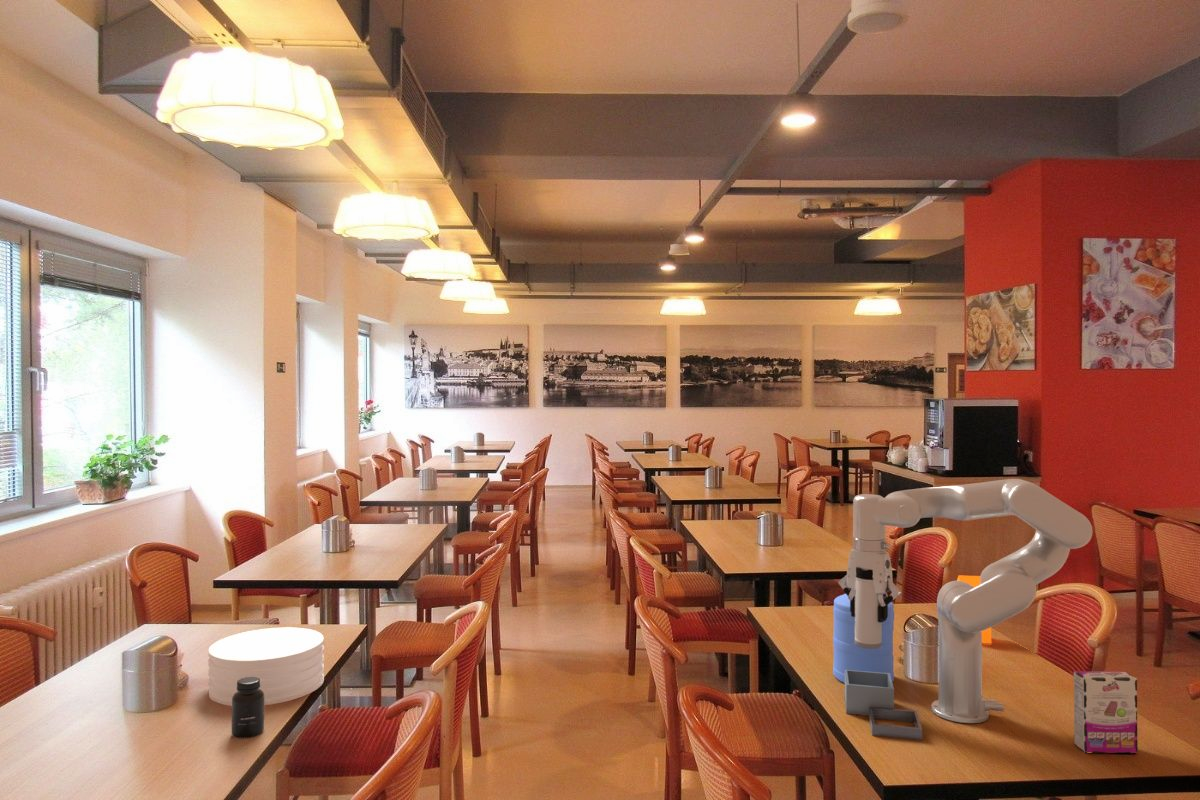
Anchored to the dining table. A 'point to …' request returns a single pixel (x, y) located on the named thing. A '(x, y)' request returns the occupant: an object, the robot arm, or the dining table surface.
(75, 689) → the dining table surface
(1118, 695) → the candy bar box
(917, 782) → the dining table surface
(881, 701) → the grey bin
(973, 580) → the orange juice
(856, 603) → the travel mug
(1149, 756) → the dining table surface
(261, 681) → the plate stack
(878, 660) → the water jug
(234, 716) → the supplement bottle
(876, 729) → the metal collar
